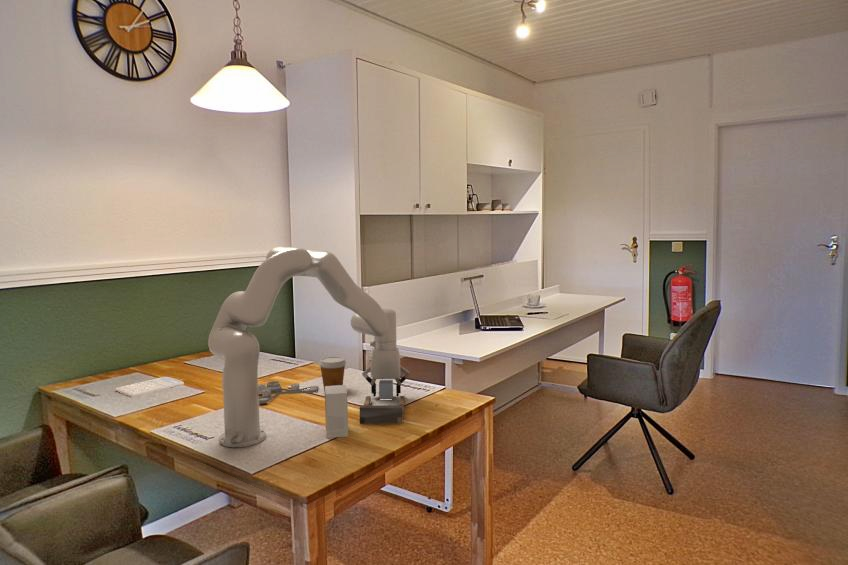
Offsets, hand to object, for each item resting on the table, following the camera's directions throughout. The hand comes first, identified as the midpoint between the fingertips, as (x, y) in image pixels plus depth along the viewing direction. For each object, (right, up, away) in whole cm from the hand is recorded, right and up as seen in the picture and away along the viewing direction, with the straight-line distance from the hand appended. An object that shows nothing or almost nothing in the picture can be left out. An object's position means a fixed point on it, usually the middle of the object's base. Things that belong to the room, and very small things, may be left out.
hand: (386, 395), depth 202 cm
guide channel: (0, -3, -14) cm, 14 cm away
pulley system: (-38, -1, +6) cm, 39 cm away
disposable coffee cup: (-20, -1, +8) cm, 21 cm away
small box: (-12, -5, -31) cm, 34 cm away
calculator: (-89, -1, +15) cm, 90 cm away
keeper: (0, -1, 0) cm, 1 cm away
